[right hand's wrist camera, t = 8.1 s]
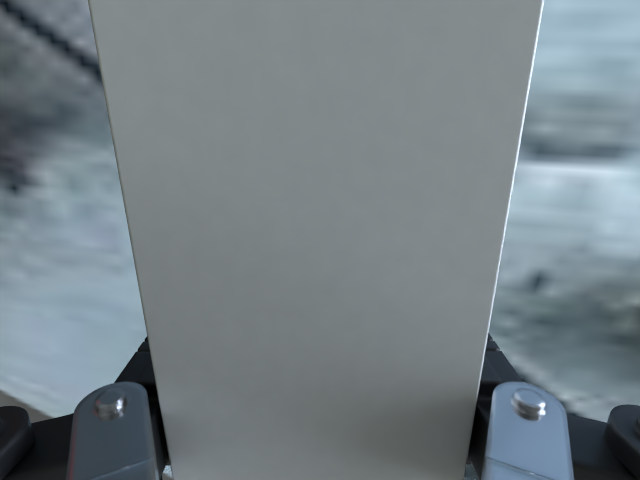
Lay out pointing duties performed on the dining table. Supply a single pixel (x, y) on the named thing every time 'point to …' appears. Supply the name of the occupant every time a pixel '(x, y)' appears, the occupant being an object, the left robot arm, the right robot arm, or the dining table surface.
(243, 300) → the box
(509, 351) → the dining table surface
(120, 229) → the dining table surface
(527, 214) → the dining table surface
